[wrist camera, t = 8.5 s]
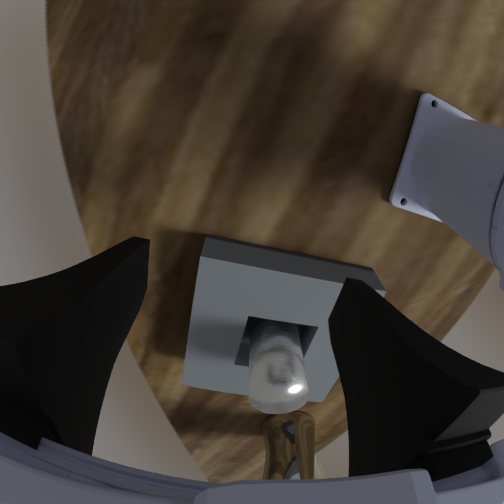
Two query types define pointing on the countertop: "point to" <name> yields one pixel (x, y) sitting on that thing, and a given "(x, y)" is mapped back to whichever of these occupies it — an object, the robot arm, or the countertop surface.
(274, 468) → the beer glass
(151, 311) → the countertop surface
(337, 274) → the hole block
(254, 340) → the peg
